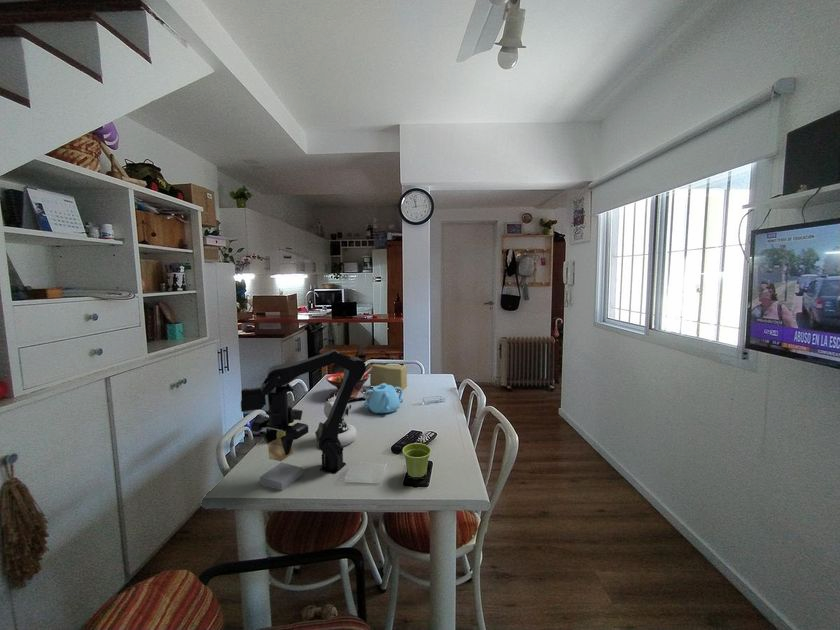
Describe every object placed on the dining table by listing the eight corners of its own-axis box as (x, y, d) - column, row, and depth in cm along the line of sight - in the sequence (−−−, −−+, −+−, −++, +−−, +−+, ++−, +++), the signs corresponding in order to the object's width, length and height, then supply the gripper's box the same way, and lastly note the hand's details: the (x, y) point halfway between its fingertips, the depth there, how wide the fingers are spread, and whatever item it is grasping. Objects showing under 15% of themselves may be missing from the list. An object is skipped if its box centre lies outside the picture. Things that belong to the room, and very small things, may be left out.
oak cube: (292, 453, 107) (292, 439, 106) (281, 461, 102) (280, 446, 101) (281, 451, 108) (280, 436, 108) (269, 458, 104) (268, 443, 103)
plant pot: (430, 466, 112) (430, 442, 112) (432, 483, 103) (432, 457, 102) (403, 467, 112) (402, 443, 111) (402, 484, 103) (402, 457, 102)
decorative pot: (382, 402, 175) (381, 377, 174) (406, 408, 166) (406, 382, 165) (360, 412, 162) (360, 385, 161) (385, 419, 153) (385, 390, 152)
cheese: (367, 390, 195) (366, 366, 193) (374, 385, 204) (373, 362, 203) (402, 394, 188) (401, 368, 187) (407, 388, 198) (407, 364, 196)
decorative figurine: (348, 451, 124) (347, 399, 122) (312, 448, 126) (310, 398, 124) (361, 433, 138) (360, 387, 137) (329, 431, 141) (327, 386, 139)
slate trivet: (302, 474, 108) (302, 467, 108) (282, 490, 100) (281, 483, 100) (281, 469, 112) (281, 462, 111) (260, 484, 103) (259, 476, 103)
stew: (371, 387, 200) (370, 362, 199) (380, 400, 178) (379, 371, 176) (323, 393, 190) (322, 366, 189) (327, 408, 168) (326, 377, 166)
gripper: (318, 401, 108) (320, 446, 109) (275, 394, 115) (278, 437, 116) (294, 413, 97) (296, 463, 99) (248, 405, 104) (251, 452, 106)
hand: (281, 452), depth 105 cm, fingers closed on oak cube, 5 cm apart
